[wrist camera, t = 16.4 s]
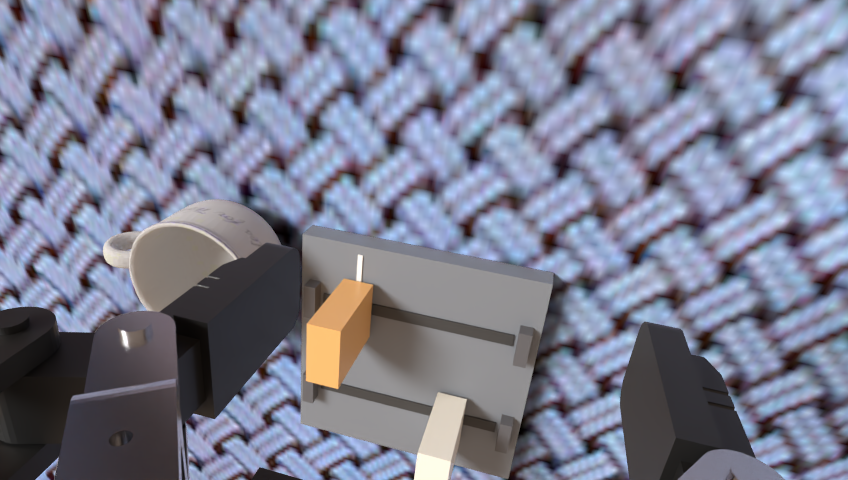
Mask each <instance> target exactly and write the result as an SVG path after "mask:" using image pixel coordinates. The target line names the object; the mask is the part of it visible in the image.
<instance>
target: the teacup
mask: <svg viewBox="0 0 848 480" xmlns="http://www.w3.org/2000/svg"><path fill="white" fill-rule="evenodd" d="M265 243H272V244H277V245H281V243H280V241H279V239H278V237H277V235H276V234H275V232H274V231H273V229H272V228H271V226H270V225H269V224H268V223H267V222H266V221H265V220H264V219H263V218H262V217H261V216H259V215H258V214H257V213H255V212H254V211H253V210H251V209H249V208H247V207H246V206H243V205H241V204H239V203H236V202H232V201H228V200H218V199H214V200H205V201H201V202H197V203H195V204H192V205H190V206H188V207H186V208H184V209H182V210H180V211H178V212H176V213H174V214H173V215H171V216H169V217H168V218H166V219H164V220H163V221H161V222H160V223H157V224H154V225H152V226H150V227H148V228H146V229H145V230H144V231H136V232H126V233H121V234H118V235H115V236H112V237H111V238H110V239H108V240H107V241H106V243H105V244H104V247H103V253H104V258H105V260H106V261H107V263H109V264H110V265H112V266H114V267H117V268H129V270H130V277H131V280H132V283H133V286H134V288H135V291H136V293H137V295H138V297H139V299H140V301H141V302H142V304H143V305H144V306H145V308H146V309H147V310H148V311H156V312H160V311H161V310H162V309H164V308H165V307H166V306H168V305H169V304H170V303H172V302H173V301H174V300H176V299H177V298H178V297H180V296H181V295H182V294H184V293H185V292H186V291H188V290H189V289H190V288H192V287H193V286H196V285H197V283H198V282H200V281H201V280H202V279H204V278H205V277H206V278H208V275H209V274H211V273H212V272H213V271H215V270H216V269H217V268H219V267H220V266H221V265H223V264H226V263H228V262H231V261H234V260H236V259H239V258H242V257H243V258H247V257H248V256H249V255H250V254H252V253H253V252H254V251H256V250H257V249H258V248H259V247H261V246H262V245H263V244H265ZM128 249H131V251H124V250H128Z"/></svg>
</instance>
